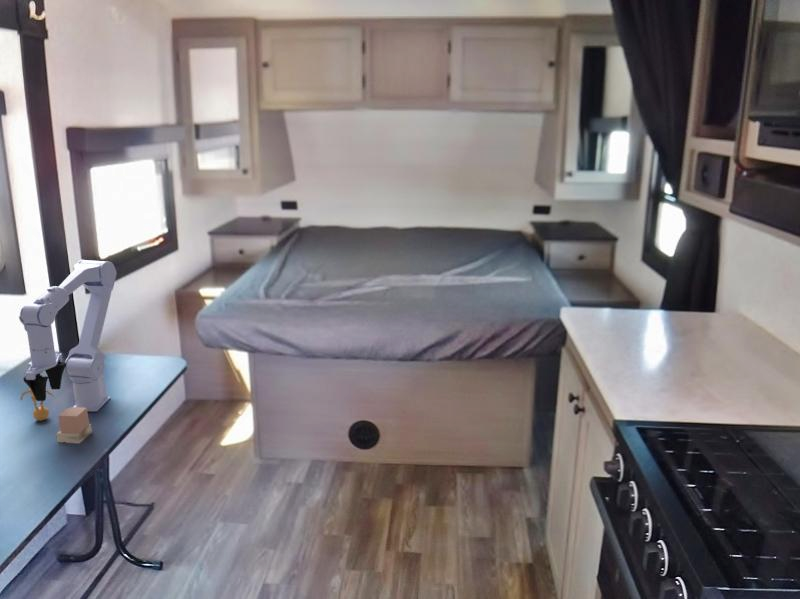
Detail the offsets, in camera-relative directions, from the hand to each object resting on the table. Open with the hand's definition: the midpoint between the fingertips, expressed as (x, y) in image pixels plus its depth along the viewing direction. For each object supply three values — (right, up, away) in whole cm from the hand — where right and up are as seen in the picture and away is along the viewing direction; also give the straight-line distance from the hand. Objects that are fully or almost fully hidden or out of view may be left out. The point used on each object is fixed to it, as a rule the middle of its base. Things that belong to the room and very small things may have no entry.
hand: (48, 394), depth 172 cm
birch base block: (+8, -12, -1) cm, 14 cm away
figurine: (-6, -9, +7) cm, 13 cm away
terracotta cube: (+8, -9, -2) cm, 12 cm away
